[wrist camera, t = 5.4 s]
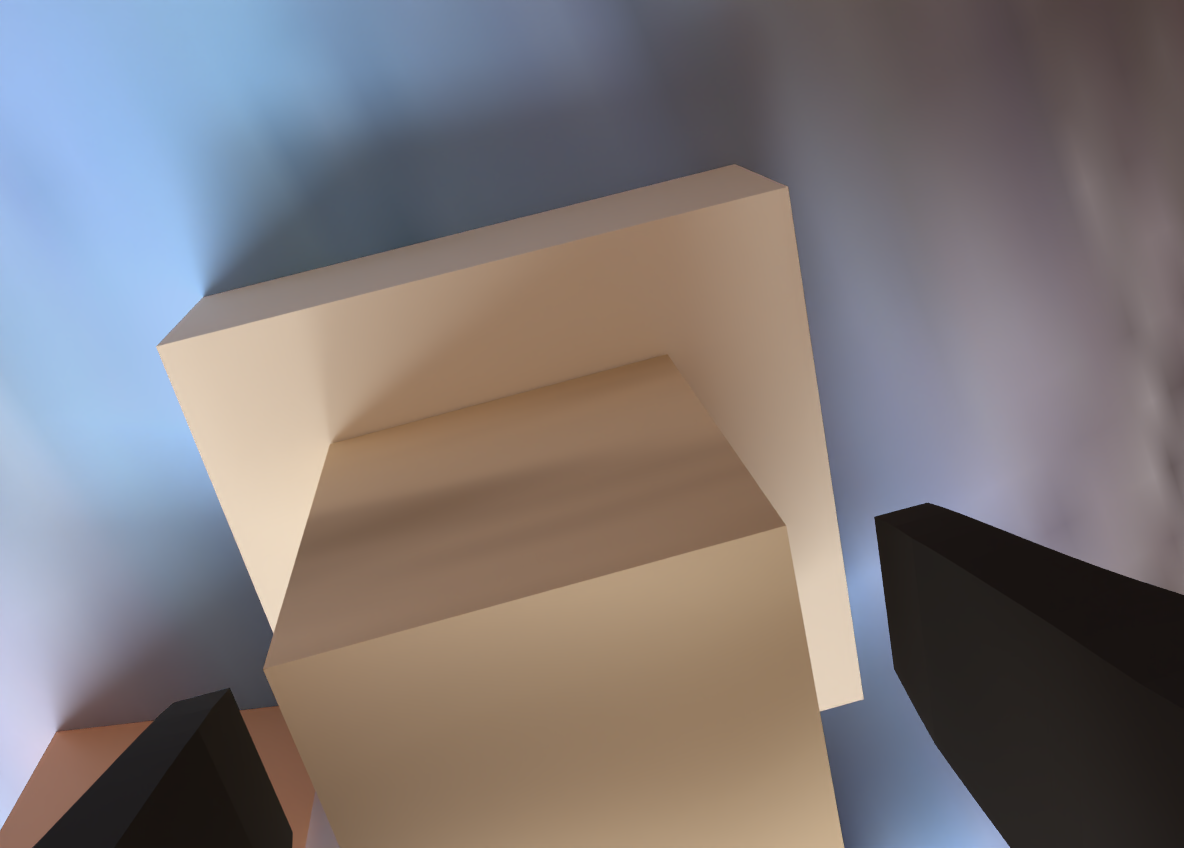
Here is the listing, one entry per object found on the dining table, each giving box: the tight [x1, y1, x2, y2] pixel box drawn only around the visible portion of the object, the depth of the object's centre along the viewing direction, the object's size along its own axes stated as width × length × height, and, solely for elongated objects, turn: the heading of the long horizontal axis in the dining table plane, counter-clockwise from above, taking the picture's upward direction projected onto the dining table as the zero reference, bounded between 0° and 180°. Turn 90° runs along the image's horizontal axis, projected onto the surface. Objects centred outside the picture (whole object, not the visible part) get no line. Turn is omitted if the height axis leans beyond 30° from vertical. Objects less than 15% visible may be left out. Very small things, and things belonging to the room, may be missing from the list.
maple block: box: [263, 354, 844, 848], centre depth 12 cm, size 4×4×5 cm
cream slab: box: [156, 164, 864, 711], centre depth 15 cm, size 8×8×3 cm
